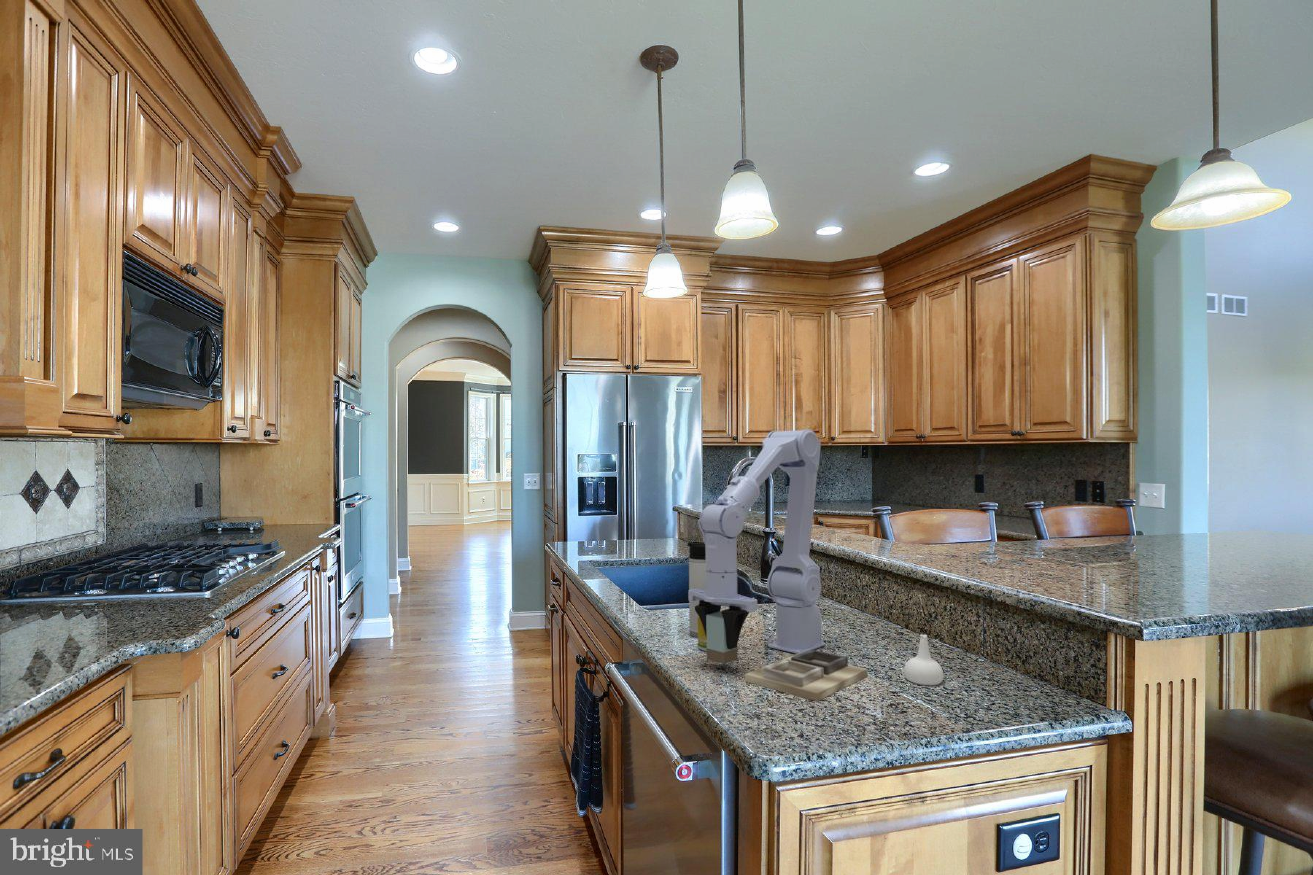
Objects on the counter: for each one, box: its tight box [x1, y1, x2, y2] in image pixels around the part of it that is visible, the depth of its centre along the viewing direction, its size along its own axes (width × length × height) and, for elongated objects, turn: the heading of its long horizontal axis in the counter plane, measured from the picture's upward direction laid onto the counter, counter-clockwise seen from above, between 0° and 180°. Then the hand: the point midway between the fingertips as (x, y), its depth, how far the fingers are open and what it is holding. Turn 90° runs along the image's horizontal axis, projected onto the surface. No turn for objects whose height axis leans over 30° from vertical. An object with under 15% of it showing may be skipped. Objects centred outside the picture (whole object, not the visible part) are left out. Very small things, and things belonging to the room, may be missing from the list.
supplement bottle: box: [697, 610, 722, 652], centre depth 134 cm, size 5×5×10 cm
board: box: [744, 649, 869, 702], centre depth 115 cm, size 17×14×3 cm
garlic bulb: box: [903, 634, 944, 686], centre depth 114 cm, size 6×6×8 cm
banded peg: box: [706, 610, 739, 665], centre depth 121 cm, size 4×4×8 cm
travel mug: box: [687, 541, 706, 639], centre depth 145 cm, size 6×7×20 cm
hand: (722, 645), depth 121 cm, fingers closed on banded peg, 4 cm apart
